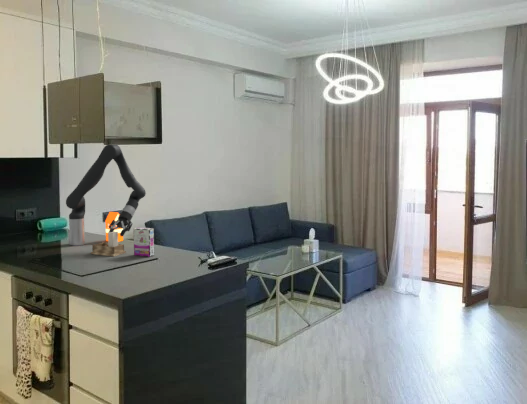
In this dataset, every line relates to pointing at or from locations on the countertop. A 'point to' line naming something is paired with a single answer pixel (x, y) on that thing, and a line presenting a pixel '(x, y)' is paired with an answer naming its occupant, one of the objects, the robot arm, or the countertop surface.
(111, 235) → the clay bar
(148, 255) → the candy bar box
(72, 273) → the countertop surface
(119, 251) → the brown woven basket
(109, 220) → the orange juice
